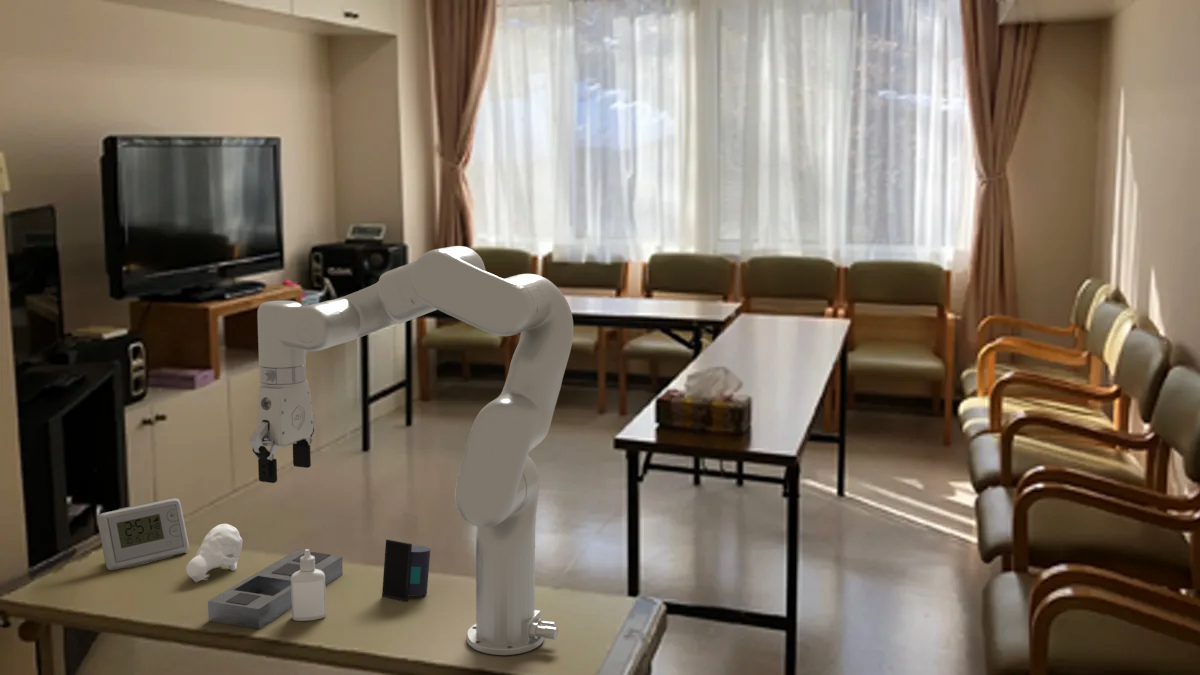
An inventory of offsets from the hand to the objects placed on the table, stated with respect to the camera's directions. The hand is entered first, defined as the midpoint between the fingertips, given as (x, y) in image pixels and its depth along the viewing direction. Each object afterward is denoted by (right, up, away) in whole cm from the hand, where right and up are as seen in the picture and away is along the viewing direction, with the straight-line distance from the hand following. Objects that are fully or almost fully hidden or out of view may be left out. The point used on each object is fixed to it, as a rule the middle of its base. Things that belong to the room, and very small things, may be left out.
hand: (285, 474), depth 184 cm
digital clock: (-35, -20, +27) cm, 49 cm away
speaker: (+19, -23, +12) cm, 32 cm away
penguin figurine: (-20, -22, +20) cm, 35 cm away
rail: (-4, -23, +10) cm, 25 cm away
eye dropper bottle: (+4, -25, +1) cm, 25 cm away
